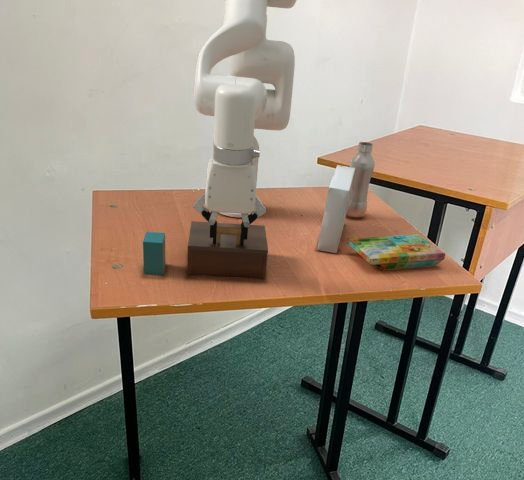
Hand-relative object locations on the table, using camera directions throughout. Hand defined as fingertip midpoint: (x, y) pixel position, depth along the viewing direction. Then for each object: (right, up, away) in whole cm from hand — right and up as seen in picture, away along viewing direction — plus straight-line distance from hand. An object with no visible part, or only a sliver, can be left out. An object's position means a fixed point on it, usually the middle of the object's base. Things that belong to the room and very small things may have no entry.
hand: (228, 240), depth 123 cm
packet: (-16, -6, +3) cm, 17 cm away
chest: (-1, -4, +8) cm, 9 cm away
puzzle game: (+39, -2, +18) cm, 43 cm away
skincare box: (+25, +6, +28) cm, 38 cm away
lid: (0, +1, +4) cm, 4 cm away
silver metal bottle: (+33, +15, +43) cm, 56 cm away
